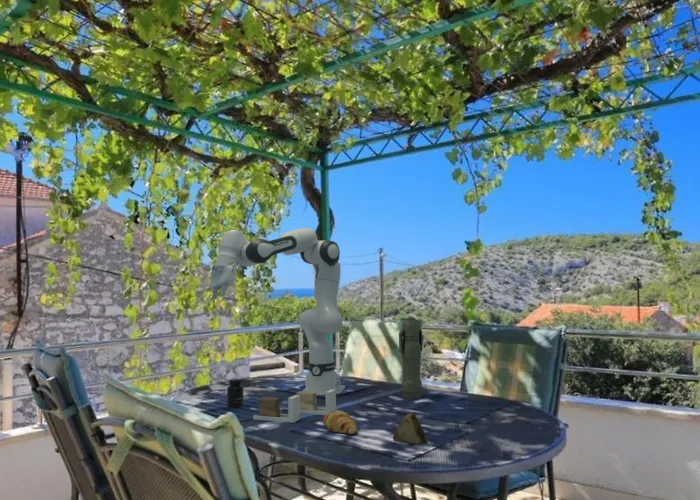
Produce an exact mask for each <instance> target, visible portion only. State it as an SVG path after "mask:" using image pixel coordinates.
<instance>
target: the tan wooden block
mask: <svg viewBox="0 0 700 500" xmlns="http://www.w3.org/2000/svg"><path fill="white" fill-rule="evenodd" d="M295 395H300V409H301V410H315V411H317V408H318V406H317V404H318V403H317V402H318V401H317V395H316V392H303V390H302V391H301V390H299V391H298V392H296V394H295Z"/></svg>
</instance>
